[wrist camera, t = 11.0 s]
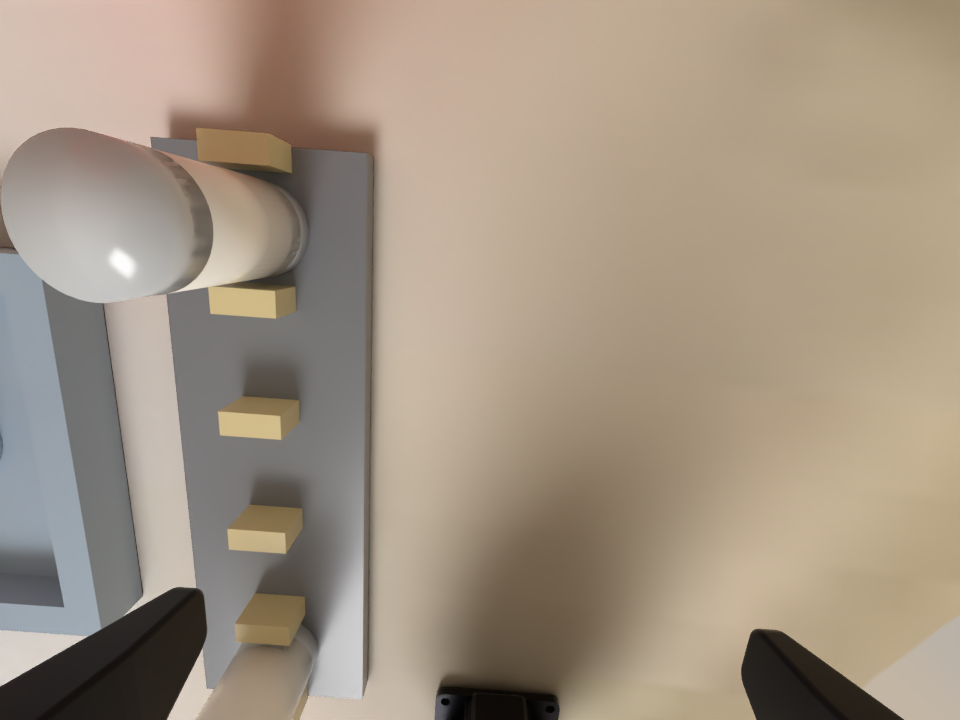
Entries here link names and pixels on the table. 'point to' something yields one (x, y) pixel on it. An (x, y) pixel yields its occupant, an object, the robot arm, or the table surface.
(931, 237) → the table surface
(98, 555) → the tray
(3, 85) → the table surface
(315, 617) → the board
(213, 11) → the table surface
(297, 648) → the fuse
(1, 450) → the cylinder
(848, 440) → the table surface
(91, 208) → the fuse
